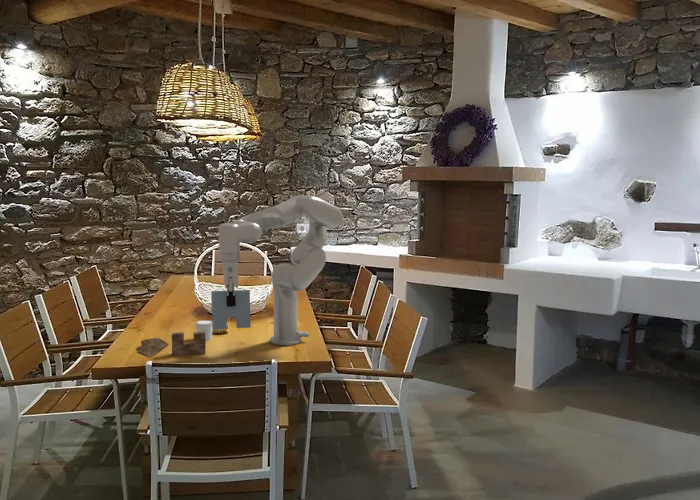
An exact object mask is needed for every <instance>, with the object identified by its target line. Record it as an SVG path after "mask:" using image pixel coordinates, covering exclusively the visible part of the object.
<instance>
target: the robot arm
mask: <svg viewBox="0 0 700 500" xmlns="http://www.w3.org/2000/svg"><path fill="white" fill-rule="evenodd" d="M300 218H308V224H309V225H308V232H307V233H306V235H304V237H303V238H302V239H301V241H300V242H299V243H298V244H297V245H296V247H294V249H293V250H292V252H291V253H290V261H291V263H292V264H290V263H284V262H283V263H279V264H277V265H276V266H274V267H273V269H272V272H271V284H272V290H273V335H272V336H271V337H269V343H271V344H273V345H275V346H277V345H278V346H294V345H297V344H300V343H301V342H302V338H309V337H310V332H309V331H303V330H302V331H299V328H298V314H299V313H298V309H299V308H298V304H299V303H298V301H299V299H298V298H299V297H298V292H300V291H304V290H306V289H307V288H308V287H309V286H310V285H311V283H312V282H313V281H314V280H315V279H316V278H317V276H318V275H319V273H320V272H321V271H322V270H323V269H324V266H325V265H326V260H327V255H326V252H325V250H324V249H323V248H324V246H325V245H326V243H327V240H328V239H327V238H328V231H327V230H328V229H327V228H332V229H333V228H337V227H339V226H340V225H341V224H342V222H343V219H344V216H343V212H342V210H341V209H340V208H339V207H337V206H336V205H333V204H332V203H329V202H327V201H325V200H323V199H321V198H319V197H318V196H317V197H316V196H314V195H304V194H301V195H296V196H293V197H292V198H291V197H290V198H288V199H287V200H285V201H283V202H281V203H278V204H277V205H274V206H271V207H269V208H268V207H267V208H265V209H262V210H259V211H255V212H252V213H250V214H247V215H245V216H243V217H240V218H238V219H236V220H235V221H234V222H232V223H231V222H226V223H220V225H219V226H218V252H219V253H218V254H219V257H218V258H219V262H220V263H222V268H223V269H222V270H223V282H224V288H225V289H226V291H227V307H235V306H236V303H235V290H236V289H238V288H239V265H238V262H240V261H241V244H240V243H255V242H257V241H259V240H260V239H261V237H262V233H263V232H262V231H263V230H269V229H270V230H272V229H278V228H283V227H285V226H286V225H289V224H290V223H293V222H295V221H297V220H298V219H300Z"/></svg>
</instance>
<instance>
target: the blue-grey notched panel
mask: <svg viewBox="0 0 700 500" xmlns="http://www.w3.org/2000/svg"><path fill="white" fill-rule="evenodd" d="M234 290H235V303H236V306H235V307H227V290H211V291H210V292H211V293H210V294H211V296H210V298H211V321H212V329H213V330H225V329H228V324H227V322H228V321H227V320H228V319H227V318H235V319H236V320H235V323H236V329H245V328H246V329H249V328H251V327H252V326H251V324H252V323H251V294H250V293H251V291H250V289H234Z"/></svg>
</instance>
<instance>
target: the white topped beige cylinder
mask: <svg viewBox="0 0 700 500" xmlns="http://www.w3.org/2000/svg"><path fill="white" fill-rule="evenodd" d="M195 328H196V330H195V331H196V332H205V336H206V341H211V340H212V338H213V330H214V329H212V320H207V319H205V320H197V321H196V322H195Z"/></svg>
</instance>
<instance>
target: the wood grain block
mask: <svg viewBox="0 0 700 500" xmlns="http://www.w3.org/2000/svg"><path fill="white" fill-rule="evenodd" d="M206 347H207V346H206V336H205V332H197V331H193V341H192V342H185V332H171V356H195V355H206V352H207V349H206Z"/></svg>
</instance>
